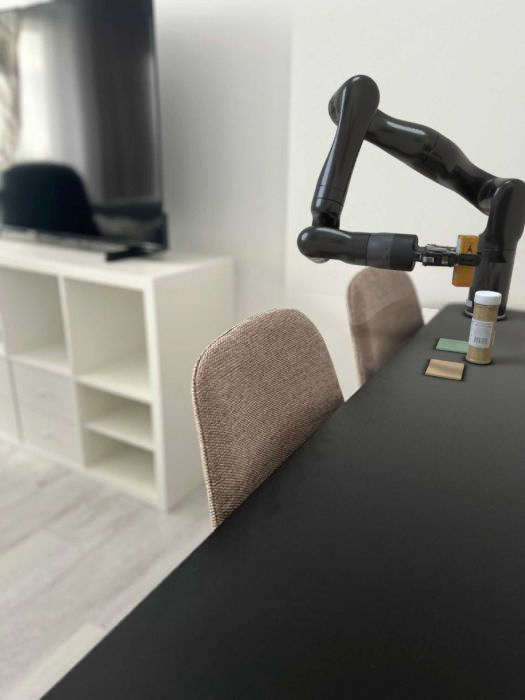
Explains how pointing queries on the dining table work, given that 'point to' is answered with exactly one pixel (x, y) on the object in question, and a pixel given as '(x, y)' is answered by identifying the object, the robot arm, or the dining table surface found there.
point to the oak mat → (445, 369)
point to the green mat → (452, 345)
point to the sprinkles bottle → (483, 326)
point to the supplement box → (461, 272)
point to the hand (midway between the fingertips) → (480, 259)
